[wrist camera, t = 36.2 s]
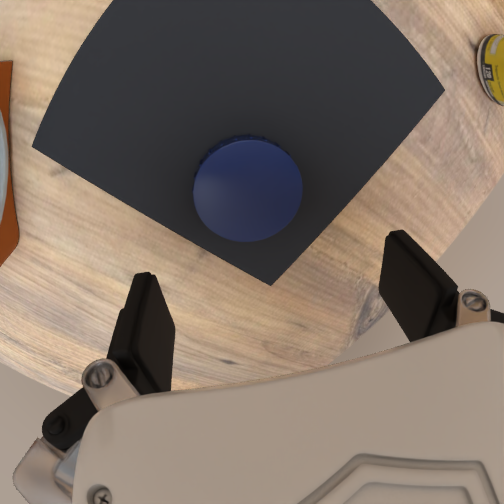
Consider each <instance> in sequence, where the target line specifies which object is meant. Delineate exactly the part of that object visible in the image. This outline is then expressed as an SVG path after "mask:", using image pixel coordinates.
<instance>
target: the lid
mask: <svg viewBox="0 0 504 504" xmlns="http://www.w3.org/2000/svg"><path fill="white" fill-rule="evenodd" d="M194 179H195V180H194V185H193V188H192V193H193V200H194V206H195V208H196V211H197V213H198V215H199V217H200V219H201V220H202V221H203V223H204V224H205V225H206V226H207V227H208V228H209V229H210V230H211V231H213V232H214V233H216V234H217V235H219V236H221V237H223V238H226V239H229V240H232V241H238V242H253V241H259V240H262V239H266V238H268V237H270V236H272V235H274V234H276V233H278V232H279V231H281V230H282V229H283V228H284V227H285V226H286V225H288V224H289V222H290V221H291V220H292V219H293V217H294V216H295V214H296V212H297V210H298V208H299V206H300V203H301V199H302V192H303V186H302V179H301V175H300V172H299V169H298V166H297V165H296V164H295V162H294V161H293V160H292V158H291V155H290V154H289V153H288V152H287V151H286V150H285V151H284V150H283V149H282V148H281V146H280V145H279V144H278V143H277V142H275V143H274V142H272V141H270V140H268V139H266V138H265V137H264V136H262V137H259V136H253V135H250V134H248V135H241V136H236V135H234V137H231V138H228V139H226V140H224V141H222V140H221V141H220V143H218V144H217V145H215V146H214V147H213V148H211V149H210V148H209V149H208V152H207V153H206V154H205V156H204V157H203V159H202V160H201V159H200V162H199V166H198V168H197V171H196V172H195V173H194Z"/></svg>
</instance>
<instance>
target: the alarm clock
mask: <svg viewBox="0 0 504 504" xmlns="http://www.w3.org/2000/svg"><path fill="white" fill-rule="evenodd" d="M11 69H12V61H0V267H1V265H2V264H3V263H4V261H5V260H6V259H7V258H8V256H9V255H10V254H11V253H12V252H13V250H14V249H15V248H16V246H17V244H18V239H19V232H18V225H17V220H16V214H15V207H14V200H13V192H12V183H11V173H10V159H9V131H8V120H9V93H10V79H11Z"/></svg>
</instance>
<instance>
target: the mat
mask: <svg viewBox="0 0 504 504" xmlns="http://www.w3.org/2000/svg"><path fill="white" fill-rule="evenodd" d="M444 91H445V89H444V88H443V86H442V85H441V83H440V82H439V80H438V79H437V77H436V76H435V75H434V73H433V72H432V71H431V69H430V68H429V66H428V65H427V64H426V62H425V61H424V60H423V58H422V57H421V56H420V55H419V53H418V52H417V51H416V50H415V48H414V47H413V46H412V45H411V43H410V42H409V41H408V40H407V39H406V38H405V36H404V35H403V34H402V33H401V32H400V31H399V29H398V28H397V27H396V26H395V25H394V24H393V23H392V22H391V21H390V20H389V19H388V17H387V16H386V15H385V14H384V13H383V12H382V11H381V10H380V9H379V8H378V7H377V6H376V5H375V4H374V3H373V2H372V1H371V0H113V1H112V3H111V4H110V5H109V6H108V8H107V9H106V10H105V12H104V13H103V15H102V16H101V17H100V19H99V20H98V21H97V23H96V24H95V26H94V27H93V29H92V30H91V32H90V33H89V35H88V36H87V38H86V39H85V41H84V42H83V44H82V45H81V47H80V49H79V50H78V52H77V54H76V55H75V57H74V59H73V60H72V62H71V64H70V66H69V67H68V69H67V71H66V73H65V75H64V76H63V78H62V80H61V82H60V84H59V86H58V88H57V90H56V92H55V94H54V96H53V98H52V100H51V102H50V104H49V106H48V109H47V111H46V113H45V115H44V117H43V120H42V122H41V124H40V127H39V129H38V132H37V134H36V137H35V139H34V142H33V144H32V147H33V148H35V149H36V150H38V151H40V152H41V153H43V154H44V155H46V156H48V157H49V158H51V159H53V160H54V161H56V162H58V163H59V164H61V165H62V166H64V167H66V168H67V169H69V170H71V171H72V172H74V173H76V174H77V175H79V176H81V177H82V178H84V179H85V180H87V181H89V182H90V183H92V184H94V185H95V186H97V187H99V188H100V189H102V190H104V191H106V192H107V193H109V194H111V195H112V196H114V197H116V198H117V199H119V200H121V201H122V202H124V203H126V204H127V205H129V206H131V207H133V208H134V209H136V210H138V211H139V212H141V213H143V214H144V215H146V216H148V217H150V218H151V219H153V220H155V221H157V222H158V223H160V224H162V225H163V226H165V227H167V228H169V229H170V230H172V231H174V232H176V233H177V234H179V235H181V236H182V237H184V238H186V239H188V240H189V241H191V242H193V243H195V244H196V245H198V246H200V247H202V248H203V249H205V250H207V251H209V252H211V253H212V254H214V255H216V256H218V257H219V258H221V259H223V260H225V261H226V262H228V263H230V264H232V265H234V266H235V267H237V268H239V269H241V270H243V271H244V272H246V273H248V274H250V275H252V276H253V277H255V278H257V279H259V280H261V281H262V282H264V283H266V284H268V285H270V286H271V285H272V284H273V283H274V282H275V281H276V280H277V279H278V278H279V277H280V276H281V275H282V274H283V273H284V272H285V271H286V270H287V269H288V268H289V267H290V266H291V265H292V263H293V262H294V261H295V260H296V259H297V258H298V257H299V256H300V255H301V254H302V253H303V252H304V251H305V250H306V249H307V248H308V247H309V245H310V244H311V243H312V242H313V241H314V240H315V239H316V238H317V237H318V236H319V235H320V234H321V233H322V231H323V230H324V229H325V228H326V227H327V226H328V225H329V224H330V223H331V222H332V221H333V220H334V218H335V217H336V216H337V215H338V214H339V213H340V212H341V211H342V210H343V209H344V207H345V206H346V205H347V204H348V203H349V202H350V201H351V200H352V199H353V197H354V196H355V195H356V194H357V193H358V192H359V191H360V190H361V189H362V187H363V186H364V185H365V184H366V183H367V182H368V181H369V179H370V178H371V177H372V176H373V175H374V174H375V173H376V172H377V170H378V169H379V168H380V167H381V166H382V165H383V164H384V162H385V161H386V160H387V159H388V158H389V157H390V155H391V154H392V153H393V152H394V151H395V150H396V148H397V147H398V146H399V145H400V144H401V143H402V141H403V140H404V139H405V138H406V137H407V136H408V134H409V133H410V132H411V131H412V130H413V128H414V127H415V126H416V125H417V124H418V122H419V121H420V120H421V119H422V118H423V116H424V115H425V114H426V113H427V112H428V110H429V109H430V108H431V107H432V106H433V104H434V103H435V102H436V101H437V99H438V98H439V97H440V96H441V95H442V93H443V92H444ZM248 134H250V135H253V136H259V137H262V136H264V137H265V138H266V139H268V140H270V141H272V142H274V143H275V142H277V143H278V144H279V145H280V146H281V148H282V149H283V150H284V151H285V150H286V151H287V152H288V153H289V154H290V155H291V158H292V160H293V161H294V162H295V164H296V165H297V166H298V169H299V172H300V175H301V179H302V186H303V192H302V199H301V203H300V206H299V208H298V210H297V212H296V214H295V216H294V217H293V219H292V220H291V221H290V222H289V224H288V225H286V226H285V227H284V228H283V229H282V230H281V231H279V232H278V233H276V234H274V235H272V236H270V237H268V238H266V239H262V240H259V241H253V242H238V241H232V240H229V239H226V238H223V237H221V236H219V235H217V234H216V233H214V232H213V231H211V230H210V229H209V228H208V227H207V226H206V225H205V224H204V223H203V221H202V220H201V219H200V217H199V215H198V213H197V211H196V208H195V206H194V200H193V193H192V188H193V185H194V180H195V179H194V173H195V172H196V171H197V168H198V166H199V162H200V159H201V160H202V159H203V157H204V156H205V154H206V153H207V152H208V149H209V148H210V149H211V148H213V147H214V146H215V145H217V144H218V143H220V141H221V140H222V141H224V140H226V139H228V138H231V137H234V135H236V136H241V135H248Z"/></svg>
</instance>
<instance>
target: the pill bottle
mask: <svg viewBox="0 0 504 504" xmlns="http://www.w3.org/2000/svg"><path fill="white" fill-rule="evenodd" d="M477 65H478V72H479V77H480V80H481V83H482V85H483V87H484V89H485V91H486V93H487V94H488V96H489V97H490V98H491V99H492V100H493V101H494V102H495V103H497V104H499V105H501V106H504V35H497V34H492V35H488V36H486V37H485V38H484V39H483V40H482V41H481V43H480V45H479V49H478V54H477Z"/></svg>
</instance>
